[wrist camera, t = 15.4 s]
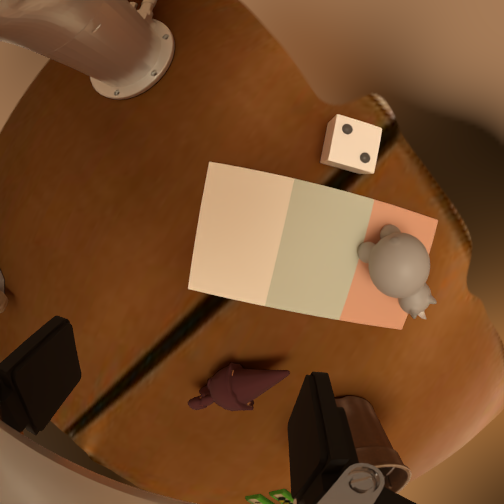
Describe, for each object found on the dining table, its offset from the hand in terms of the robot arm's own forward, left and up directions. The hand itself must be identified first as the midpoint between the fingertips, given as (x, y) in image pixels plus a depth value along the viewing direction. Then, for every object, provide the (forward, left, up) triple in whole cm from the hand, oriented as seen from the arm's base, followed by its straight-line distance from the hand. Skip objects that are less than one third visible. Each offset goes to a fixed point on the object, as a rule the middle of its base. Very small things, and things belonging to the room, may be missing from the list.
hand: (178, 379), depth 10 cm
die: (-13, +9, -26) cm, 30 cm away
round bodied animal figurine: (0, +19, -26) cm, 32 cm away
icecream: (+19, +3, -26) cm, 33 cm away
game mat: (0, +9, -26) cm, 27 cm away
